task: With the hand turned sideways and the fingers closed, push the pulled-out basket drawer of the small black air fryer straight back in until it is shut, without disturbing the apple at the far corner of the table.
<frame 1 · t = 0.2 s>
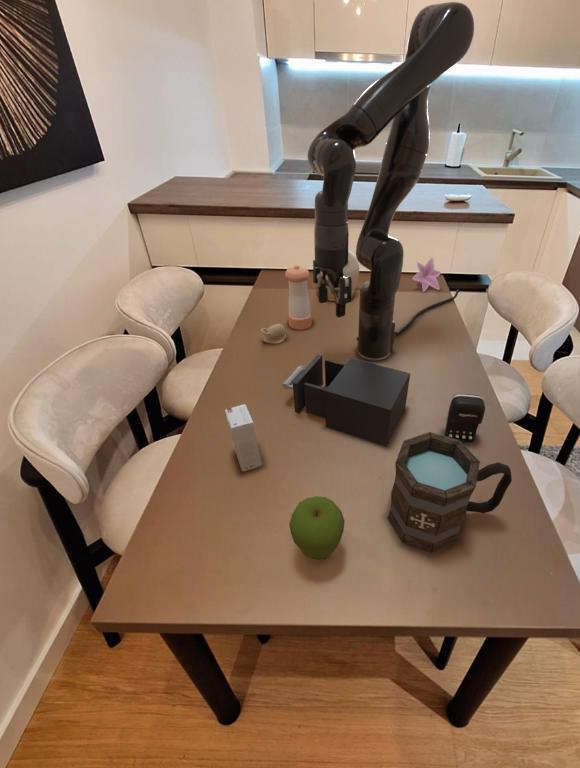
hand: (331, 309, 98), 17 cm above the table, tool pointing down, fingers open, 8 cm apart
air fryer: (366, 417, 93), on the table
battery charger: (459, 439, 88), on the table
salt shaker: (300, 324, 127), on the table
mug: (441, 518, 72), on the table
apple: (318, 550, 67), on the table
decorative ornament: (274, 340, 118), on the table
lily: (424, 287, 151), on the table
cosmetic box: (248, 459, 82), on the table
drawer: (324, 387, 93), point 5 cm above the table, slide at 7.0 cm
jug: (336, 294, 144), on the table
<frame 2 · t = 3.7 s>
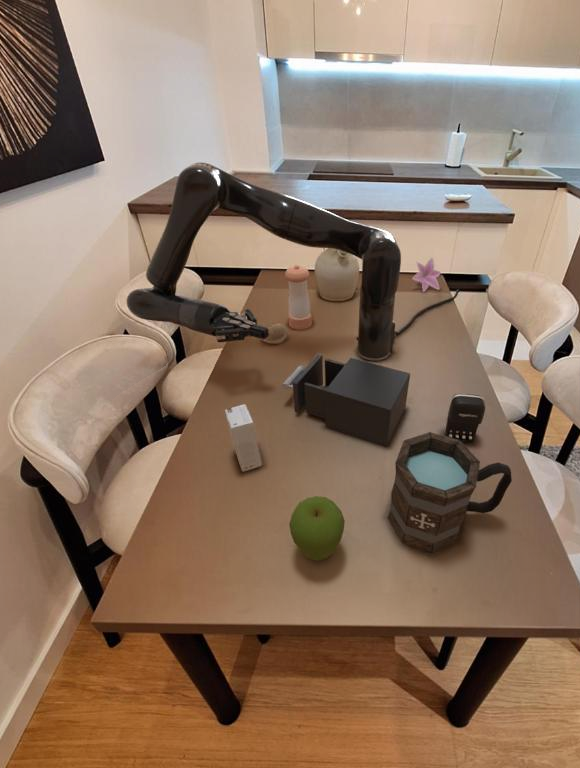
hand: (266, 333, 90), 16 cm above the table, tool horizontal, fingers closed
nothing on the table moved.
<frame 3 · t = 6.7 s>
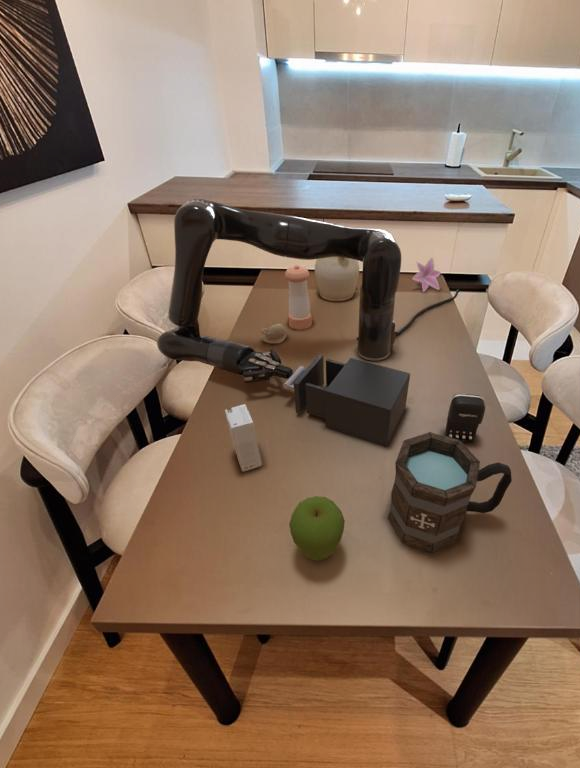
hand: (291, 374, 95), 6 cm above the table, tool horizontal, fingers closed
drawer: (325, 387, 93), point 5 cm above the table, slide at 6.7 cm, touching gripper
everything else where it was.
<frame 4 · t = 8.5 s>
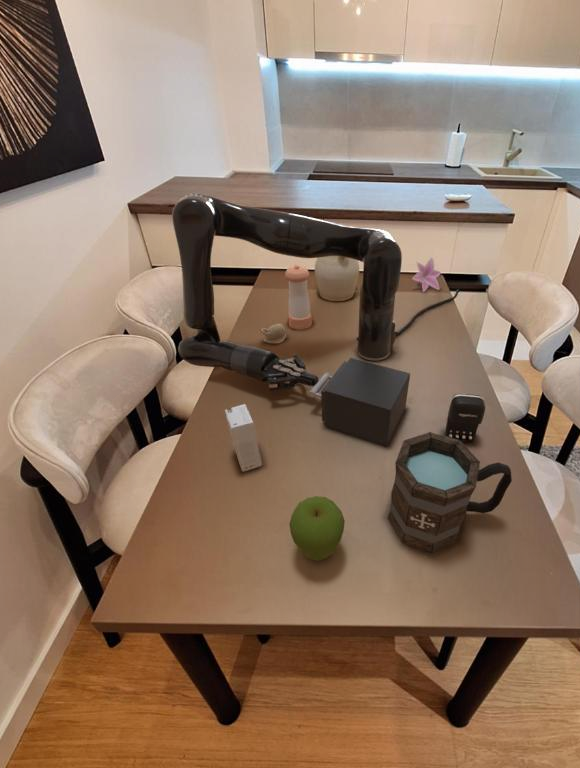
hand: (316, 381, 93), 6 cm above the table, tool horizontal, fingers closed
drawer: (351, 395, 91), point 5 cm above the table, slide at 0.0 cm, touching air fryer, gripper
everything else where it was.
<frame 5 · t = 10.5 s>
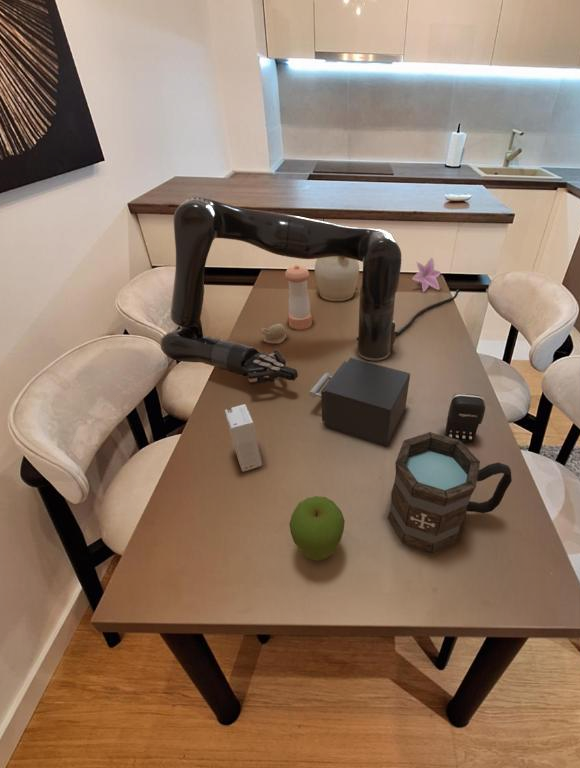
hand: (296, 375, 94), 7 cm above the table, tool horizontal, fingers closed
drawer: (351, 395, 91), point 5 cm above the table, slide at 0.0 cm, touching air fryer
everything else where it was.
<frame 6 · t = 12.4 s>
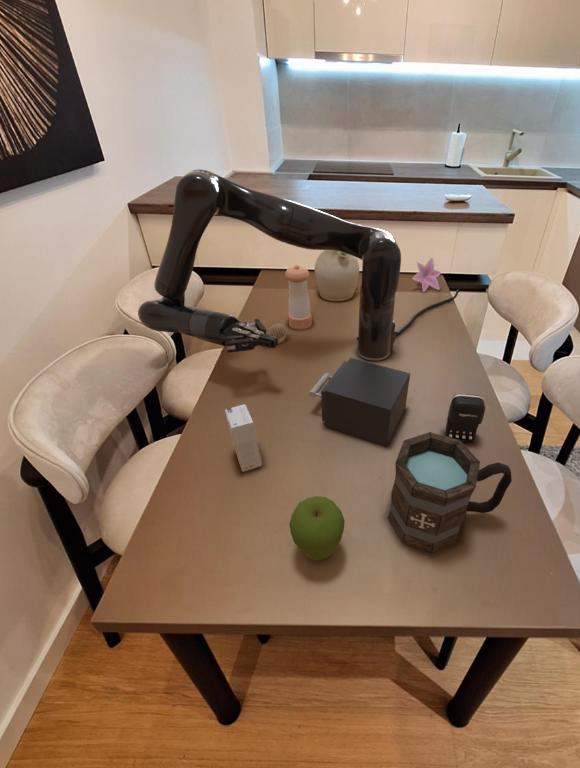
hand: (276, 343, 91), 14 cm above the table, tool horizontal, fingers closed
nothing on the table moved.
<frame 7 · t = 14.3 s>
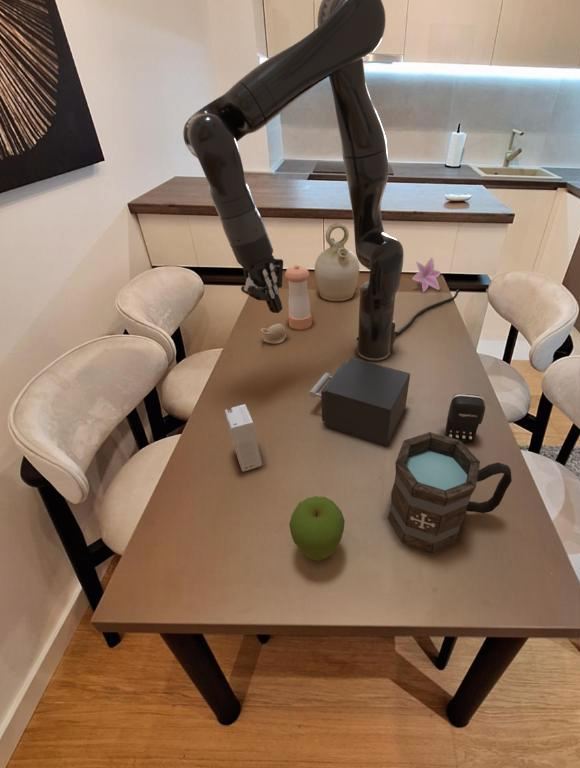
hand: (277, 310, 88), 21 cm above the table, tool pointing down, fingers closed
nothing on the table moved.
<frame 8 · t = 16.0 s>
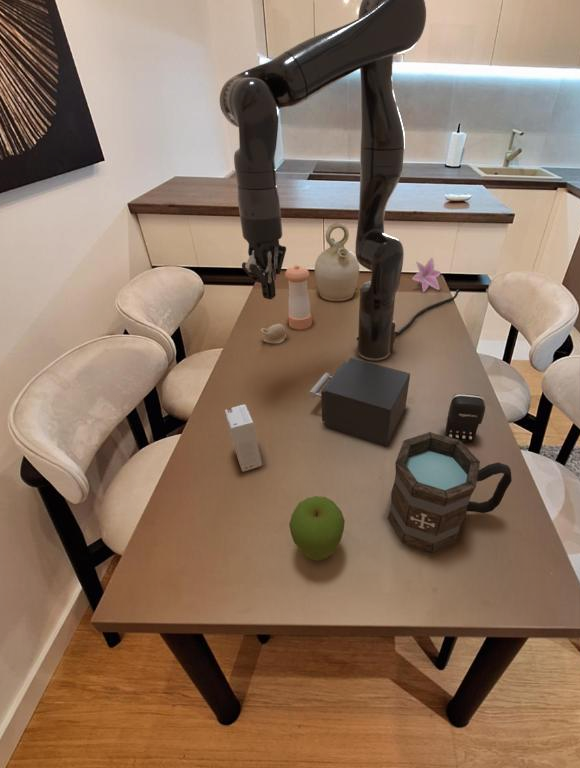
hand: (269, 297, 85), 25 cm above the table, tool pointing down, fingers closed
nothing on the table moved.
at the end: drawer slide at 0.0 cm; apple moved 0.2 cm from its start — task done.
